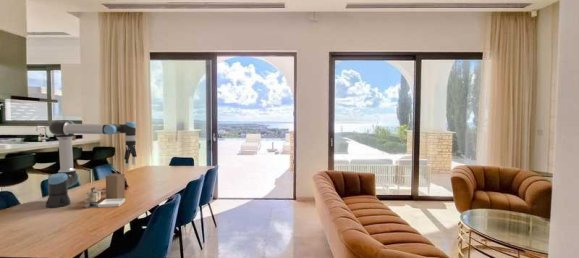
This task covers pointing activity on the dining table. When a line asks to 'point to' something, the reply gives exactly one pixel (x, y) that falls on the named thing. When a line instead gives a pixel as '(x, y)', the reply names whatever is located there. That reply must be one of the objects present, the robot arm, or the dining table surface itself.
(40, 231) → the dining table surface
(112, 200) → the tray
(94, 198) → the collar
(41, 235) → the dining table surface
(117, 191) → the wooden block
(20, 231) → the dining table surface
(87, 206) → the grey lever faucet
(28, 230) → the dining table surface
